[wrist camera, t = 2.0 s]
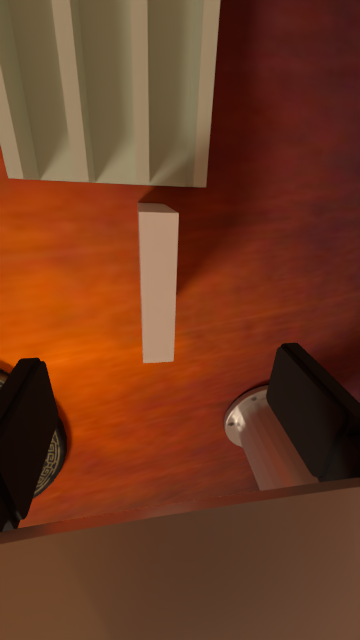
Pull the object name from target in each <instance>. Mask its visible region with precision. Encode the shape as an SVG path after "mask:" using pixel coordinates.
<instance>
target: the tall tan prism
mask: <svg viewBox="0 0 360 640" xmlns="http://www.w3.org/2000/svg"><path fill="white" fill-rule="evenodd" d="M178 223H179V213H178V212H176V211H174V210H173V209H171V208H170V207H168V206H166V205H165V204H160V203H138V229H139V262H140V294H141V322H142V346H143V363H153V362H170V361H174V334H175V306H176V278H177V251H178Z"/></svg>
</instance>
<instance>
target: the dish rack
mask: <svg viewBox="0 0 360 640" xmlns="http://www.w3.org/2000/svg"><path fill="white" fill-rule="evenodd" d="M219 12H220V0H0V144H1V148H2V153H3V157H4V161H5V166H6V170H7V175H8V178H16V179H31V180H52V181H73V182H94V183H115V184H137V185H158V186H179V187H201V188H202V187H206V181H207V168H208V155H209V142H210V129H211V116H212V103H213V90H214V77H215V64H216V51H217V38H218V25H219Z"/></svg>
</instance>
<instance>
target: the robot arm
mask: <svg viewBox="0 0 360 640" xmlns="http://www.w3.org/2000/svg"><path fill="white" fill-rule="evenodd" d="M57 423H58V410H57V406H56V403H55V399H54V395H53V391H52V387H51V383H50V379H49V375H48V371H47V367H46V364H45V362H44V361H40V359H39V358H24V359H20V360H19V361H18V363H17V364H16V366H15V367H14V369H13V370H12V372H11V373H10V375H9V376H8V378H7V379H6V381H5V382H4V384H3V385H2V387H1V388H0V640H360V403H359V402H358V401H357V400H356V399H355V398H354V397H353V396H352V395H351V394H350V393H349V392H348V391H347V390H346V389H344V388H343V387H342V386H341V385H340V384H339V383H338V382H337V381H336V380H335V379H334V378H333V377H332V376H331V375H330V374H329V373H328V372H327V371H326V370H325V369H324V368H323V367H322V366H321V365H320V364H319V363H318V362H317V361H316V360H315V359H314V358H313V357H311V356H310V355H309V354H308V353H307V352H306V351H305V350H304V349H303V348H302V347H301V346H300V345H299V344H298V343H284V344H282V345H281V347H279V348H278V349H277V352H276V356H275V360H274V365H273V369H272V373H271V377H270V381H269V385H266V386H261V387H258V388H255V389H253V390H250V391H249V392H247V393H245V394H243V395H242V396H241V397H239V398H238V399H237V400H236V401H235V402H234V403H233V404H232V405H231V406H230V408H229V409H228V411H227V413H226V415H225V419H224V428H225V431H226V434H227V436H228V438H229V439H230V440H231V442H233V443H234V444H236V445H238V446H240V447H243V449H244V451H245V454H246V456H247V459H248V461H249V464H250V466H251V469H252V471H253V473H254V476H255V478H256V481H257V483H258V486H259V488H260V491H256V492H249V493H242V494H235V495H228V496H222V497H215V498H208V499H201V500H195V501H188V502H181V503H174V504H168V505H161V506H155V507H148V508H141V509H135V510H128V511H122V512H115V513H109V514H102V515H96V516H89V517H83V518H76V519H71V520H65V521H59V522H53V523H47V524H41V525H36V526H30V527H24V528H18V525H19V522H20V520H22V519H25V518H26V516H27V514H28V511H29V508H30V505H31V502H32V499H33V496H34V493H35V490H36V487H37V484H38V481H39V478H40V475H41V472H42V469H43V466H44V463H45V460H46V457H47V454H48V450H49V447H50V444H51V441H52V438H53V435H54V432H55V429H56V426H57ZM17 528H18V529H17Z"/></svg>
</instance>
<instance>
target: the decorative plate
mask: <svg viewBox="0 0 360 640" xmlns="http://www.w3.org/2000/svg"><path fill="white" fill-rule="evenodd" d="M9 375H10V373H8V372H6V371H4V370H2V369H0V388H1V387H2V385H3V384H4V382H5V381H6V379H7V378H8V376H9ZM66 452H67V436H66V433H65V430H64V426H63V423H62V421H61V419H60V418H59V416H58V423H57V426H56V429H55V432H54V435H53V438H52V441H51V444H50V447H49V450H48V454H47V457H46V460H45V463H44V466H43V469H42V472H41V475H40V478H39V481H38V484H37V487H36V490H35V493H34V496H33V498H35V497H36V496H38V495H39V494H41V493H42V492H43V491H44V490H45V489H46V488H47V487H48V486H49V485H50V484H51V483H52V482H53V481H54V479H55V478H56V476H57V475H58V473H59V472H60V470H61V468H62V465H63V462H64V458H65V455H66Z"/></svg>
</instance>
